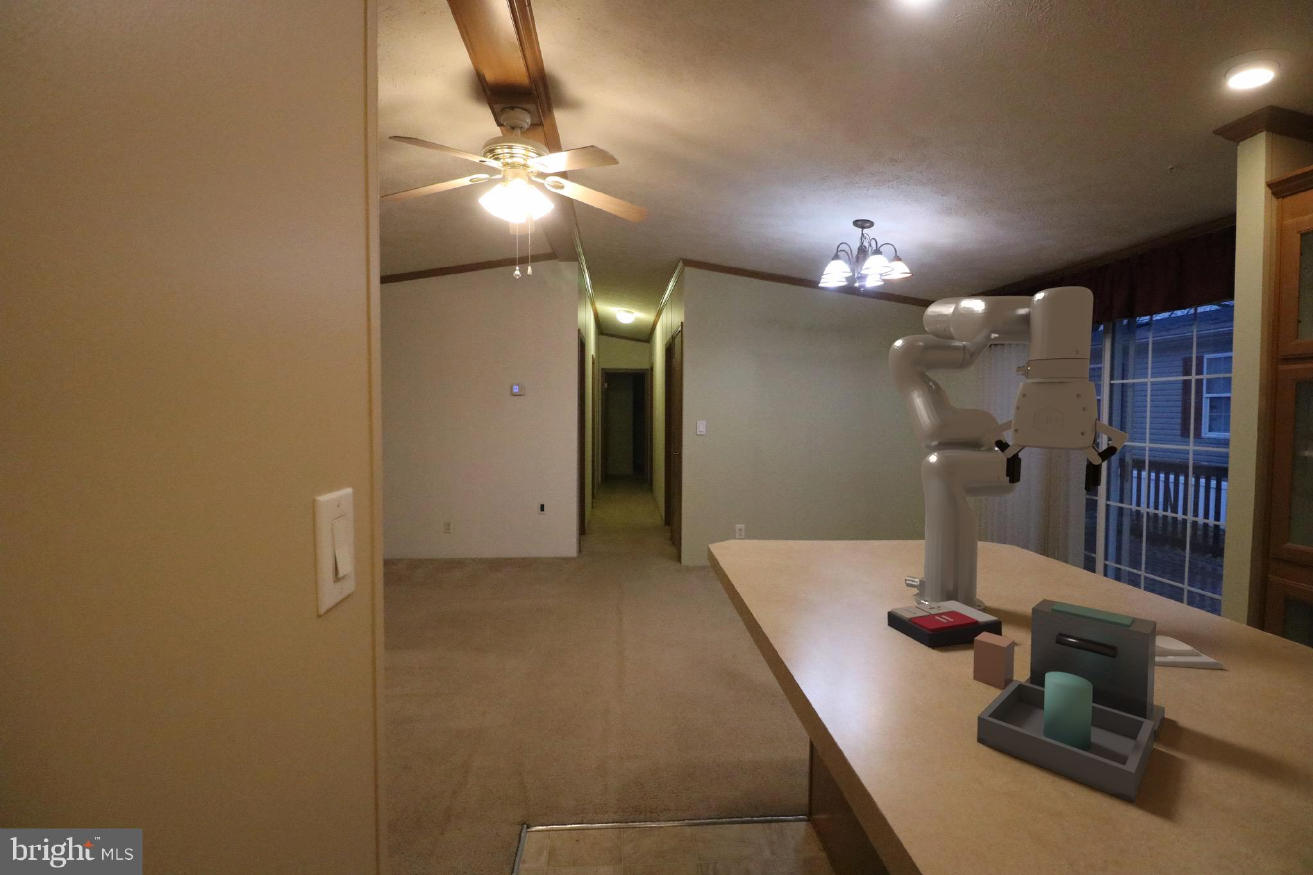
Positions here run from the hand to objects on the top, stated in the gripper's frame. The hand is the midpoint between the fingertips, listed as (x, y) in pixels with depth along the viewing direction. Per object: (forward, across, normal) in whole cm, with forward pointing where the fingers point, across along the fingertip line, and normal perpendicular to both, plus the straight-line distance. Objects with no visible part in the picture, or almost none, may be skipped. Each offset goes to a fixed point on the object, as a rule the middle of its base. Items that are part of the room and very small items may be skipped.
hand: (1050, 486), depth 84 cm
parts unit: (+27, +8, -10) cm, 30 cm away
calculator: (+29, -15, +2) cm, 33 cm away
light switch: (+29, +10, +19) cm, 36 cm away
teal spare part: (+26, +8, -23) cm, 36 cm away
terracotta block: (+28, -3, -12) cm, 30 cm away
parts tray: (+27, +8, -23) cm, 37 cm away
